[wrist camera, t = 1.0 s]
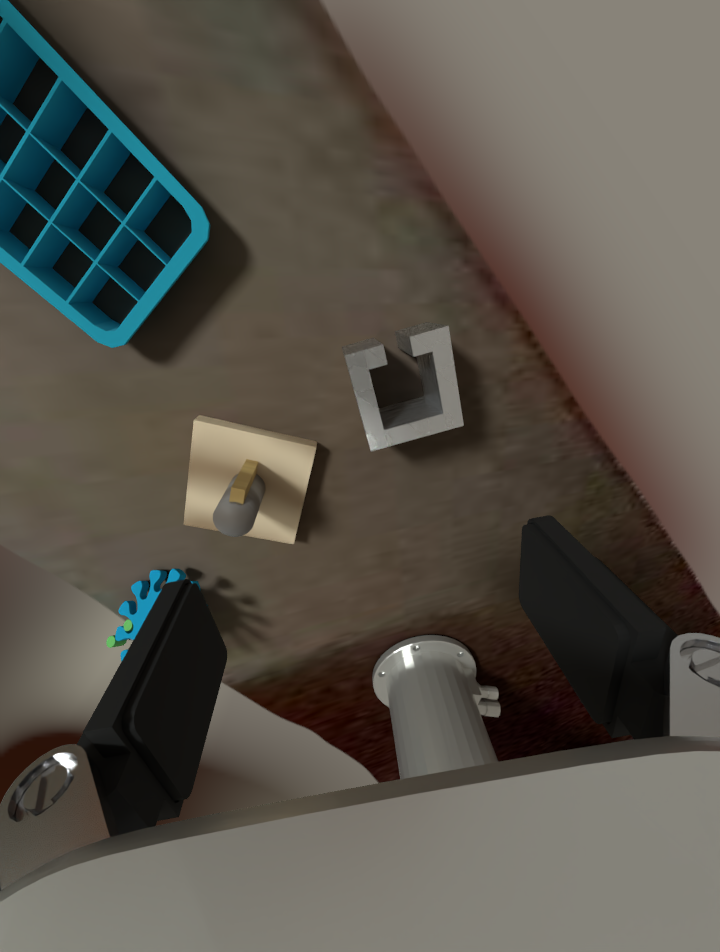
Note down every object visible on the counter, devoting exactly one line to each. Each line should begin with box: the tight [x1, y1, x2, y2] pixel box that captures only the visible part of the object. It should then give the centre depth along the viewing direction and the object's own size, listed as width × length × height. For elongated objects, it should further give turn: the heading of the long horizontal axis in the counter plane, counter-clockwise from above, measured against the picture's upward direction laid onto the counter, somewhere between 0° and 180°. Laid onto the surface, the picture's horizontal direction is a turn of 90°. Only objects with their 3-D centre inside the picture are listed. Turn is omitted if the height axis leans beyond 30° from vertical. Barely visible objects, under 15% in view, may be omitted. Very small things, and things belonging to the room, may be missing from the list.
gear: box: [107, 569, 208, 661], centre depth 37 cm, size 11×6×10 cm
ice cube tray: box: [0, 0, 210, 348], centre depth 23 cm, size 12×20×3 cm, turn 43°
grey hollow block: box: [342, 322, 464, 451], centre depth 29 cm, size 7×7×6 cm
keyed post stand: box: [184, 415, 317, 544], centre depth 31 cm, size 10×10×7 cm
